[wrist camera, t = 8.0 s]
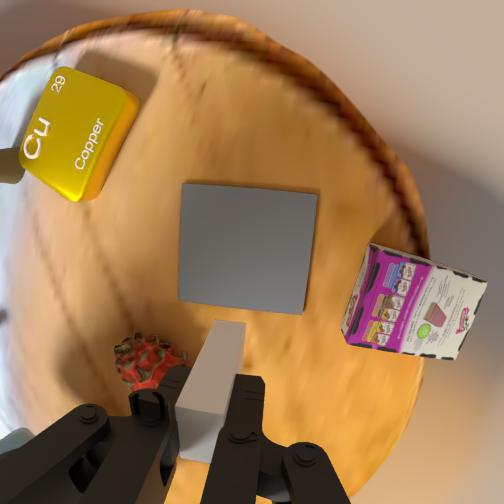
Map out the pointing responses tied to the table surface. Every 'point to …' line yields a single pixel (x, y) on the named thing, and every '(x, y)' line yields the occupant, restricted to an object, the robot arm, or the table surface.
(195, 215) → the mat
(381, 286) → the candy bar box
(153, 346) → the dragon fruit
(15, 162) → the cork
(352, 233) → the table surface
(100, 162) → the element tile
